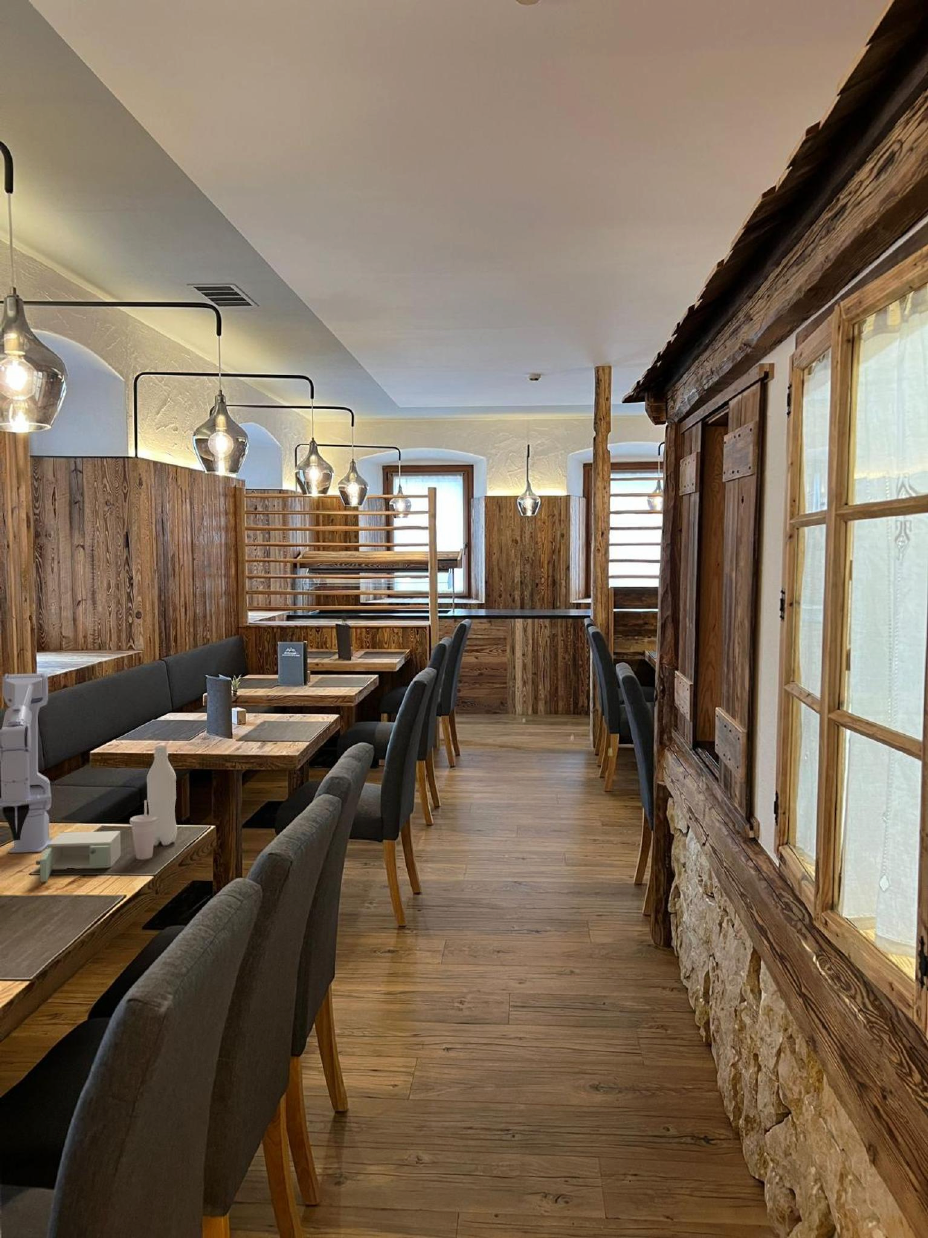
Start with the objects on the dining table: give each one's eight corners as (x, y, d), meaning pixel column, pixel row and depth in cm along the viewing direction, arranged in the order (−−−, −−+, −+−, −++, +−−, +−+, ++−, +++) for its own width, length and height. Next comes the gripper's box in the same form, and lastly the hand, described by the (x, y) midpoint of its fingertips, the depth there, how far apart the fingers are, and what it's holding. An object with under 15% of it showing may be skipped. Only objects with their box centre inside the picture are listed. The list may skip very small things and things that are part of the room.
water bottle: (183, 841, 232) (181, 745, 231) (160, 849, 226) (158, 750, 225) (164, 837, 236) (163, 742, 235) (141, 844, 230) (139, 747, 229)
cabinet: (61, 857, 220) (60, 832, 219) (120, 855, 221) (120, 831, 221) (45, 873, 208) (44, 847, 208) (108, 870, 210) (107, 845, 210)
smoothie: (149, 862, 216) (148, 804, 215) (124, 860, 217) (123, 803, 217) (163, 853, 222) (162, 797, 222) (139, 852, 224) (138, 796, 223)
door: (52, 868, 210) (52, 847, 210) (46, 881, 202) (45, 859, 201) (42, 868, 210) (42, 847, 210) (36, 882, 201) (35, 860, 201)
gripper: (-23, 786, 195) (-21, 848, 196) (51, 780, 202) (52, 839, 203) (-22, 780, 202) (-20, 839, 203) (50, 773, 208) (51, 831, 209)
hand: (16, 839), depth 203 cm, fingers closed
